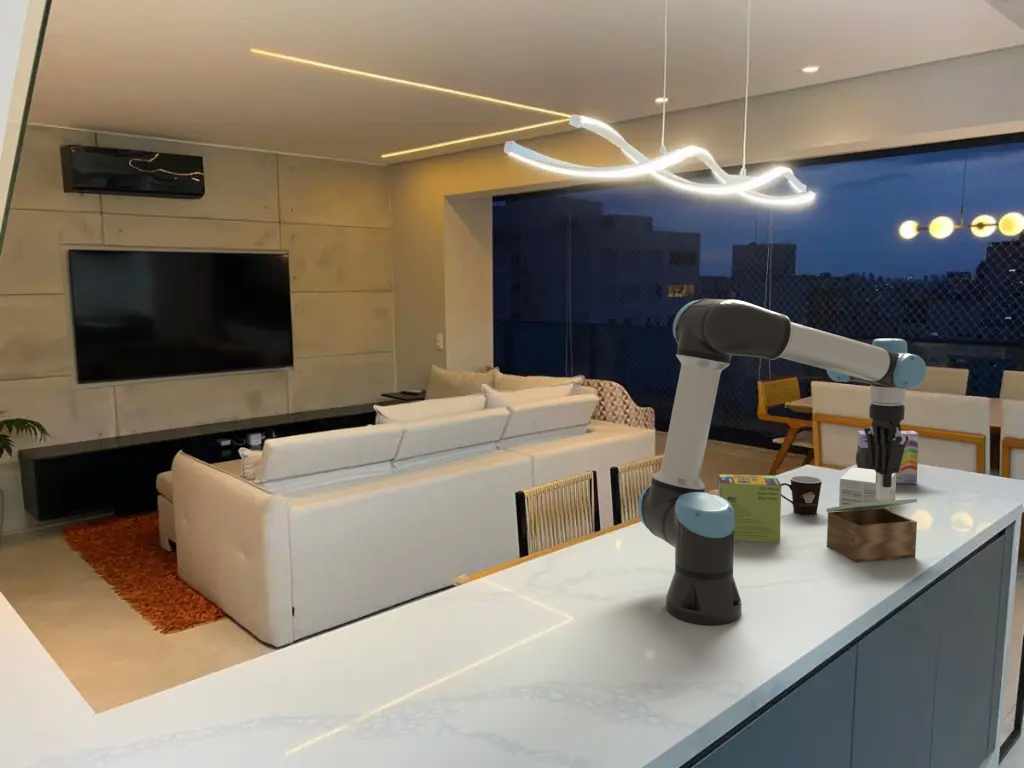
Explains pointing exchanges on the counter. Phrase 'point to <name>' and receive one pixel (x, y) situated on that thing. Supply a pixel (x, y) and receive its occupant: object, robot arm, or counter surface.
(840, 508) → the lid
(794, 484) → the coffee mug
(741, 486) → the protein box
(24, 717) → the counter surface
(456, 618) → the counter surface
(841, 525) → the crate
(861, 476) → the supplement box
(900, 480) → the cake pan box
